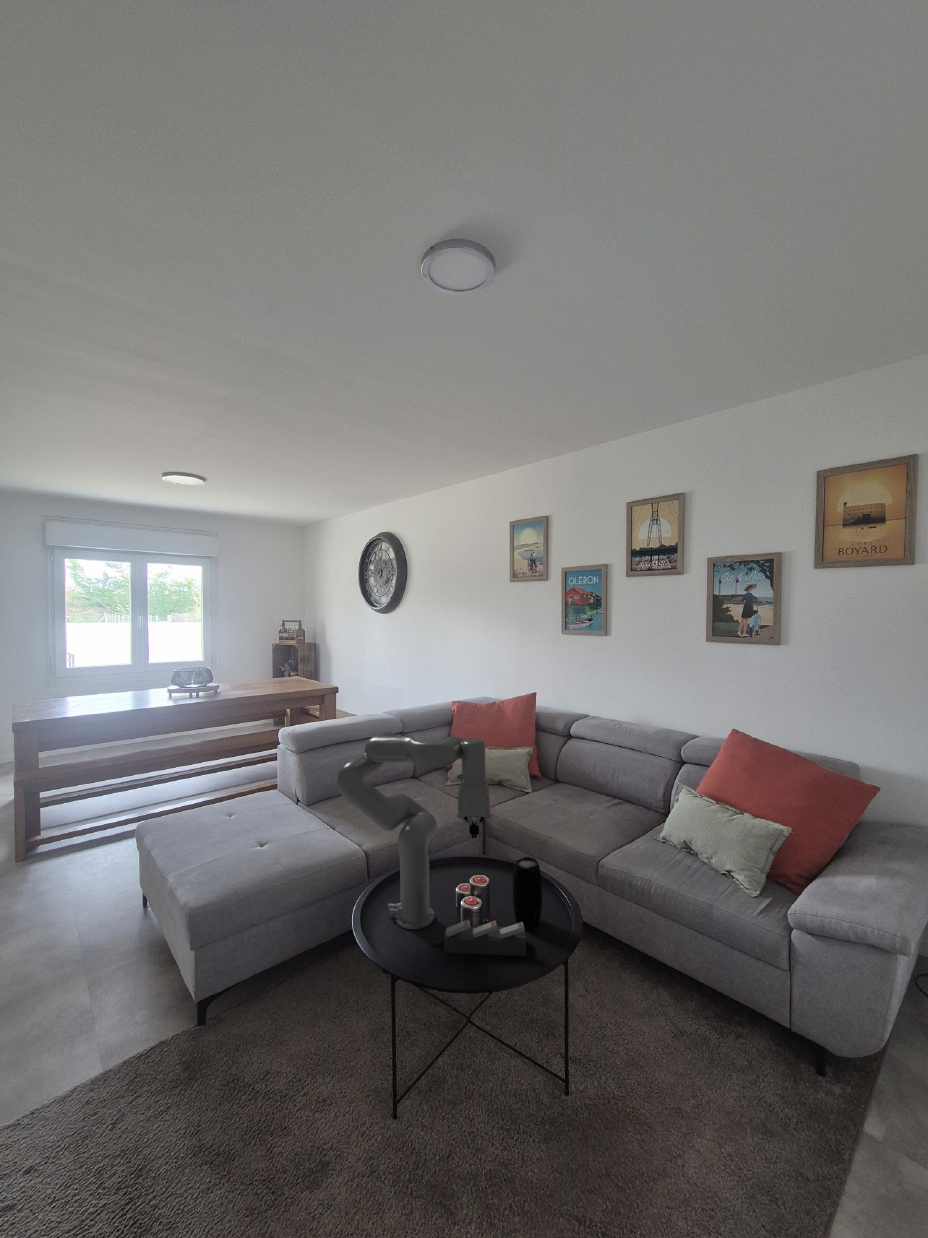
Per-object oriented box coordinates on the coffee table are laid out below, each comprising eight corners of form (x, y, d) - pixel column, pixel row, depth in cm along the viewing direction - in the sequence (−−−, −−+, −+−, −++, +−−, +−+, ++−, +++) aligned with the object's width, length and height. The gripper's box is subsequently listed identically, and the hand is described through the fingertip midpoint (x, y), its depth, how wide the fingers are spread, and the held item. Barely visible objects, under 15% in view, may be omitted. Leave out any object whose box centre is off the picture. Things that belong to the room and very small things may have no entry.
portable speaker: (544, 929, 158) (544, 867, 158) (515, 931, 157) (514, 869, 157) (538, 914, 167) (538, 855, 167) (510, 915, 166) (510, 856, 166)
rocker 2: (474, 938, 147) (472, 934, 147) (474, 932, 150) (473, 928, 150) (496, 929, 147) (495, 925, 147) (496, 924, 149) (495, 920, 150)
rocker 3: (501, 938, 147) (499, 934, 147) (501, 933, 149) (499, 929, 149) (524, 931, 146) (522, 926, 146) (523, 925, 149) (522, 921, 149)
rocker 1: (447, 937, 148) (445, 933, 148) (448, 932, 150) (446, 928, 151) (469, 928, 147) (467, 924, 148) (470, 923, 150) (468, 919, 150)
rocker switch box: (430, 952, 148) (430, 934, 148) (433, 937, 155) (433, 920, 155) (526, 956, 146) (525, 938, 146) (524, 940, 153) (524, 923, 153)
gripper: (449, 782, 156) (449, 841, 156) (497, 782, 155) (497, 842, 155) (451, 775, 164) (452, 831, 164) (497, 775, 163) (497, 832, 163)
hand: (474, 836), depth 159 cm, fingers closed
